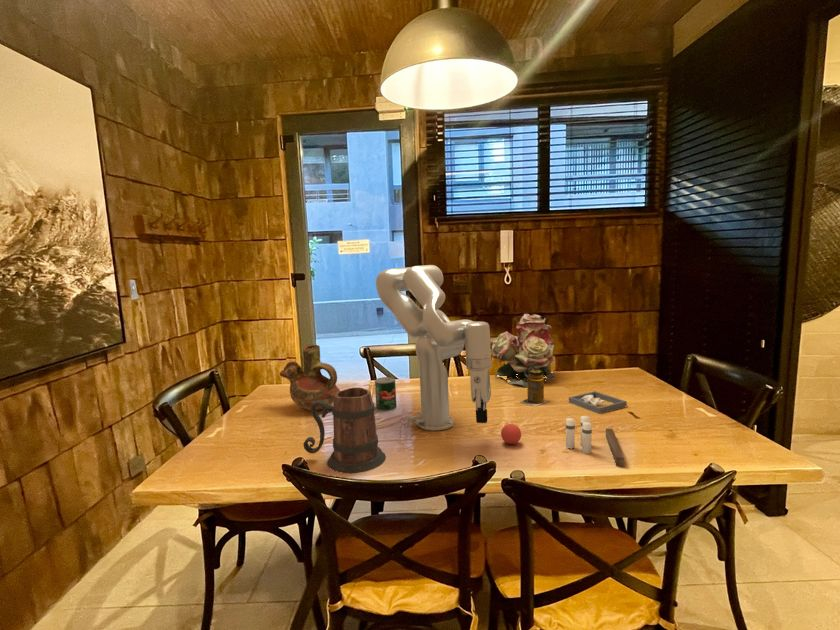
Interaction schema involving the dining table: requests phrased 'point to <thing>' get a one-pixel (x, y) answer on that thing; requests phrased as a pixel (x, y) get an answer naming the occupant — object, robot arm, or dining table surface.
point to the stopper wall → (615, 447)
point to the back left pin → (583, 419)
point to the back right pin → (586, 437)
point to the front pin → (570, 433)
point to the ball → (511, 433)
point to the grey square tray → (576, 401)
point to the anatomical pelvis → (592, 400)
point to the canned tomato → (385, 393)
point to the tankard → (350, 432)
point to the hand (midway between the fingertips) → (481, 421)
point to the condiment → (535, 388)
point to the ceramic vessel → (311, 380)
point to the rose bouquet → (525, 350)
